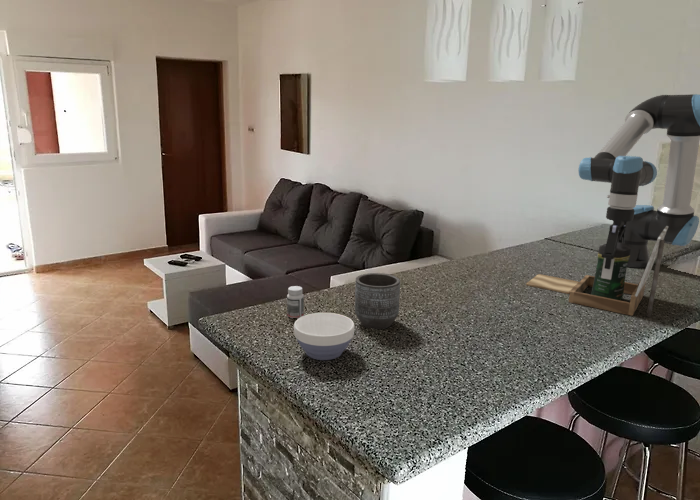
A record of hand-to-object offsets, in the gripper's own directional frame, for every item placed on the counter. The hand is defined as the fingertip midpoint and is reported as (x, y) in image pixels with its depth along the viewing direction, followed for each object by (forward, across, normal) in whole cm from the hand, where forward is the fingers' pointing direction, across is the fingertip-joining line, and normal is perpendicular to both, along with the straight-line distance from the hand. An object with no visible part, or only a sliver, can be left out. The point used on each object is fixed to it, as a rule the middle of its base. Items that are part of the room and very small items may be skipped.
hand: (610, 273), depth 163 cm
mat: (+8, -4, -18) cm, 20 cm away
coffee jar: (+9, 0, 0) cm, 9 cm away
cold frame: (+9, 0, +2) cm, 9 cm away
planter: (+10, +63, -47) cm, 79 cm away
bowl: (+10, +86, -47) cm, 98 cm away
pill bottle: (+10, +73, -68) cm, 100 cm away
